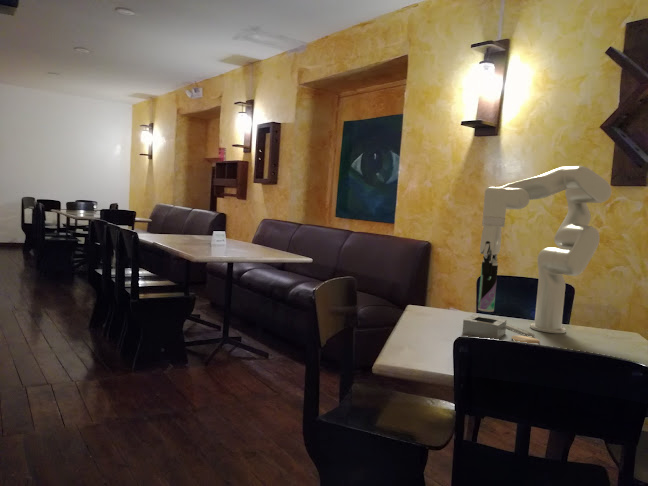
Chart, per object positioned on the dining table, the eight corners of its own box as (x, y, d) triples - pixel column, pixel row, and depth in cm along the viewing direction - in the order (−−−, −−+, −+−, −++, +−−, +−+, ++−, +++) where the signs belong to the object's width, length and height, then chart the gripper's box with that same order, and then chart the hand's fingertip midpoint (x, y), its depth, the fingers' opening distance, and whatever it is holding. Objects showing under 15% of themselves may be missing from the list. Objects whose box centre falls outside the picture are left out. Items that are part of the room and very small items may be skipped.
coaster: (514, 336, 179) (514, 334, 179) (541, 341, 174) (541, 339, 174) (508, 341, 171) (508, 338, 171) (536, 346, 167) (536, 344, 167)
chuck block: (472, 327, 189) (473, 314, 188) (505, 333, 182) (506, 320, 182) (462, 333, 179) (463, 319, 178) (496, 340, 172) (498, 325, 172)
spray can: (485, 312, 176) (490, 255, 175) (474, 308, 181) (479, 253, 179) (497, 311, 179) (502, 255, 177) (485, 308, 183) (490, 253, 182)
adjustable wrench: (536, 338, 180) (536, 334, 180) (520, 339, 178) (521, 334, 178) (496, 321, 204) (496, 317, 204) (482, 321, 202) (482, 317, 202)
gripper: (489, 221, 187) (485, 270, 188) (475, 221, 172) (471, 273, 174) (510, 223, 183) (505, 272, 184) (498, 223, 168) (493, 276, 169)
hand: (489, 272), depth 179 cm, fingers closed on spray can, 5 cm apart
